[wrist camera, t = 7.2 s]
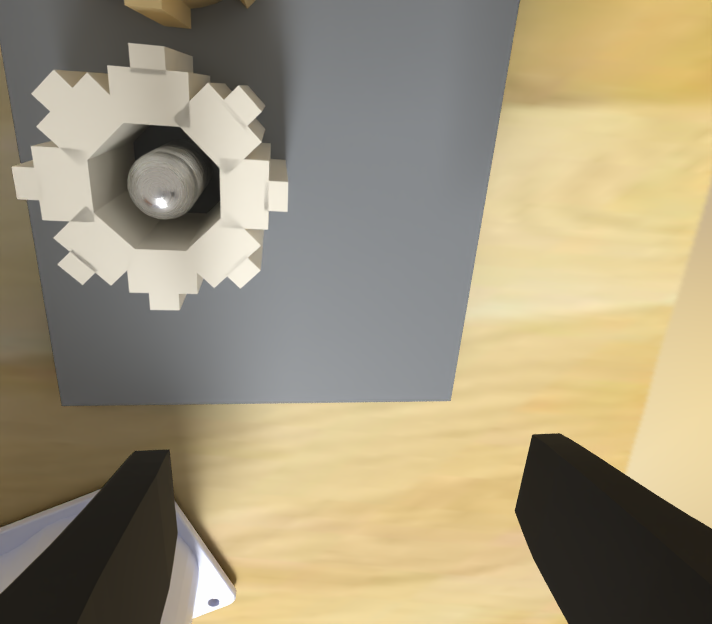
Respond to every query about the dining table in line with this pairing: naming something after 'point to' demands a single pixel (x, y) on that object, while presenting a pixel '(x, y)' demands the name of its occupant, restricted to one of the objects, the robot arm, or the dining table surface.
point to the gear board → (291, 197)
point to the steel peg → (169, 179)
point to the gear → (116, 156)
